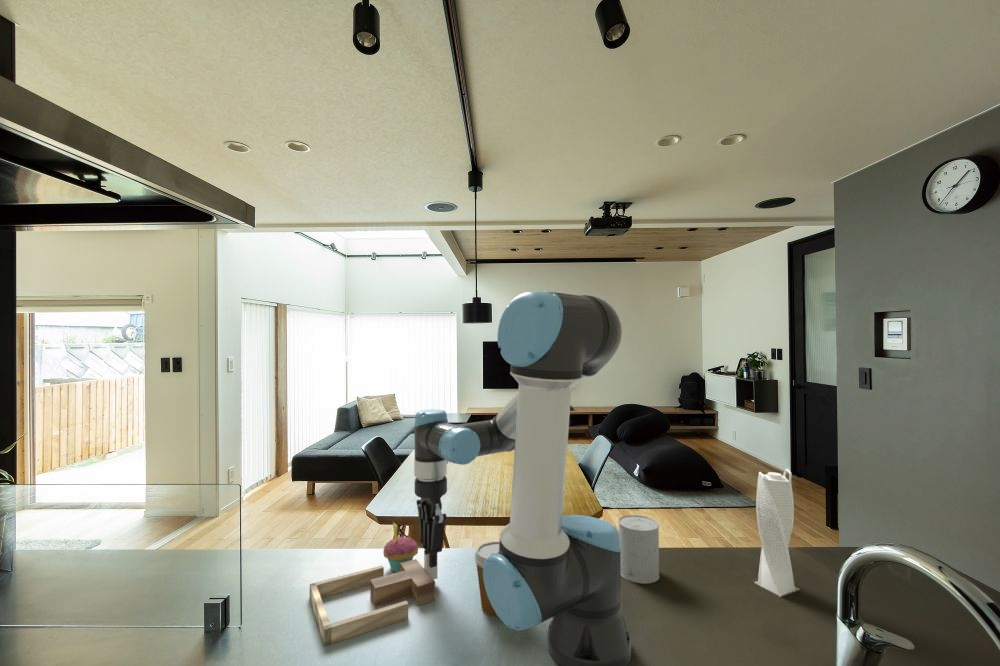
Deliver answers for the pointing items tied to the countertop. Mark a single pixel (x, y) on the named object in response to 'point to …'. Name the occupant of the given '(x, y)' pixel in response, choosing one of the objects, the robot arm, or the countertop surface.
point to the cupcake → (399, 550)
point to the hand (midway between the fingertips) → (430, 578)
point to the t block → (403, 585)
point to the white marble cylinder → (639, 548)
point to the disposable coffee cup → (480, 557)
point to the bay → (357, 623)
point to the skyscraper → (775, 532)
